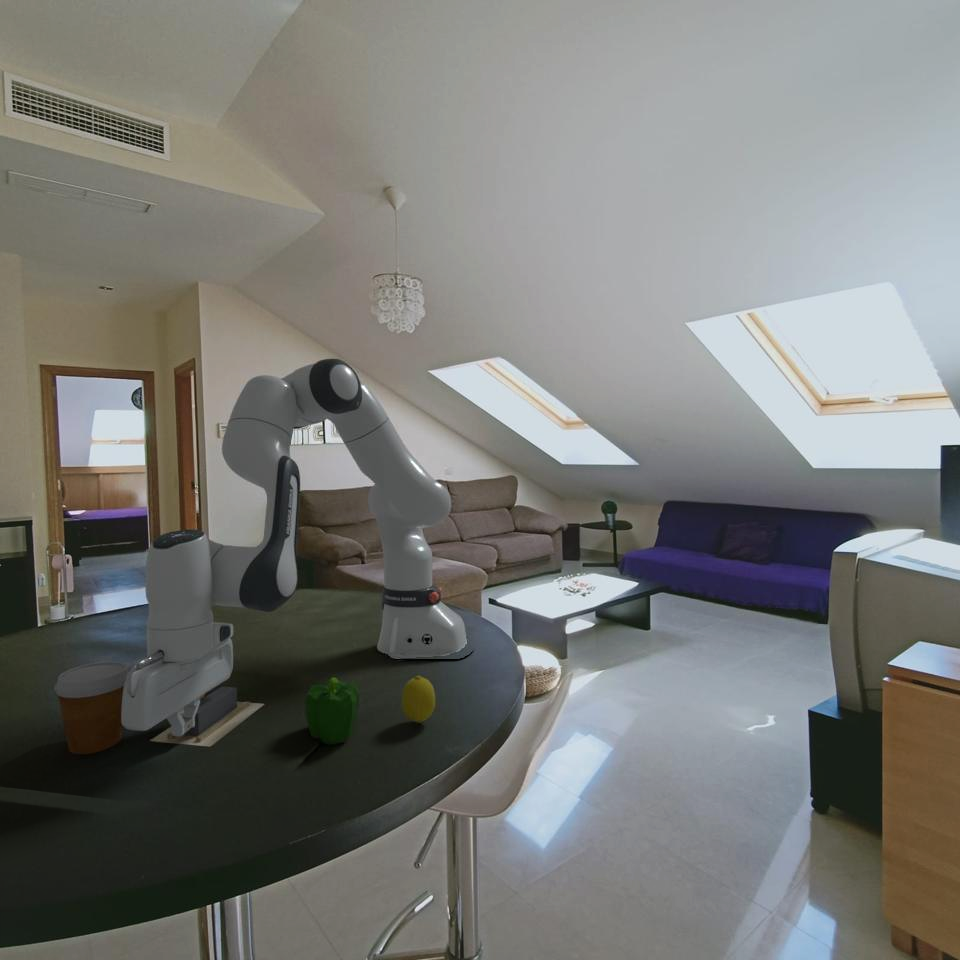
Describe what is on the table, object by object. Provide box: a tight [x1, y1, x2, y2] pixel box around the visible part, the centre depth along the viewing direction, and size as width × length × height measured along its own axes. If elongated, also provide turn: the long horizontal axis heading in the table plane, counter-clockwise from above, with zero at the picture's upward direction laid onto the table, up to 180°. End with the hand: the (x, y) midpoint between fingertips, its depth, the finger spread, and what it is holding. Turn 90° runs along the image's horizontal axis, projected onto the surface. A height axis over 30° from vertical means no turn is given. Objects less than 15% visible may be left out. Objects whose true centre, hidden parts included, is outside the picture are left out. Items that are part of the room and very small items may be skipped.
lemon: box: [400, 675, 436, 723], centre depth 96 cm, size 6×6×8 cm
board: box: [149, 701, 265, 748], centre depth 94 cm, size 10×15×2 cm, turn 170°
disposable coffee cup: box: [53, 661, 130, 755], centre depth 87 cm, size 10×10×12 cm
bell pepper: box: [304, 677, 360, 746], centre depth 91 cm, size 8×8×10 cm
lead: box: [184, 686, 238, 736], centre depth 94 cm, size 3×10×4 cm, turn 170°
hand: (183, 731), depth 88 cm, fingers closed
